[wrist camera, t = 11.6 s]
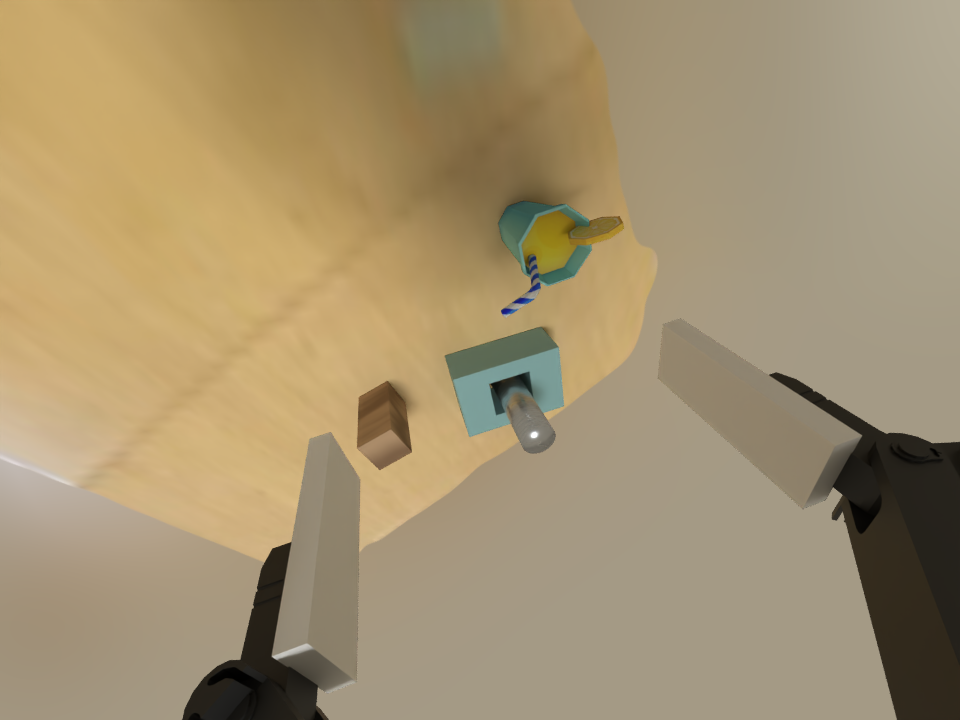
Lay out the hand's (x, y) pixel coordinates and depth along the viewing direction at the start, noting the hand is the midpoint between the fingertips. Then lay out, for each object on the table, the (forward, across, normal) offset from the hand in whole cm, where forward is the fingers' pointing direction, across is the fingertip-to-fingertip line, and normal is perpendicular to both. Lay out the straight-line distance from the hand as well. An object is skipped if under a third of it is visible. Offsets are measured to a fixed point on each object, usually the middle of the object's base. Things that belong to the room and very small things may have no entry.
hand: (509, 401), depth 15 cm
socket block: (+32, +5, -23) cm, 40 cm away
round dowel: (+32, +5, -23) cm, 40 cm away
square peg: (+32, -12, -22) cm, 41 cm away
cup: (+33, +11, -4) cm, 35 cm away
